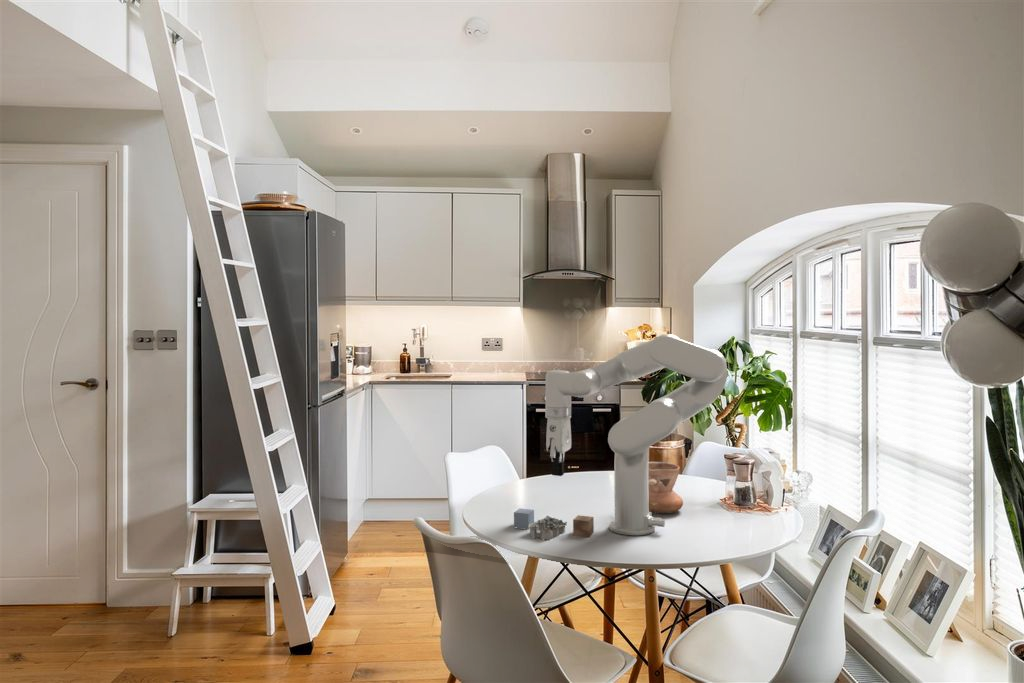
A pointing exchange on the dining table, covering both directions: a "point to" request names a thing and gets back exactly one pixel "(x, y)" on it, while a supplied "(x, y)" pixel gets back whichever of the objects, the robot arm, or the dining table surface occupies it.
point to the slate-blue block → (523, 518)
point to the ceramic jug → (663, 488)
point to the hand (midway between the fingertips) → (557, 474)
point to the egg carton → (552, 527)
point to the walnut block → (583, 526)
